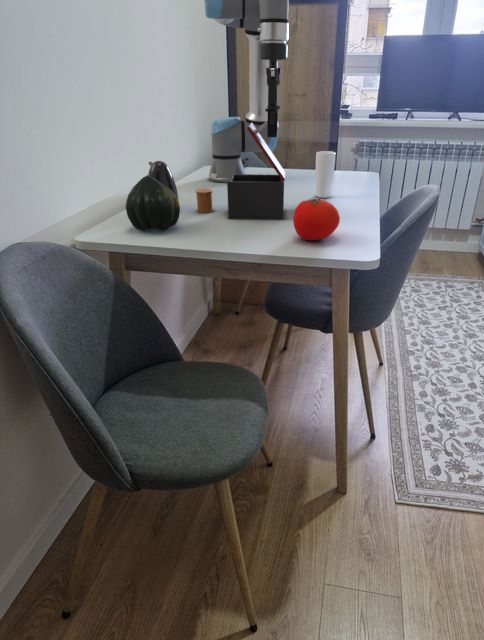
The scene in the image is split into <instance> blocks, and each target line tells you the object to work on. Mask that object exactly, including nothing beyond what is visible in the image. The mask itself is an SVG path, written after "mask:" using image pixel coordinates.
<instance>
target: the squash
mask: <svg viewBox="0 0 484 640" xmlns="http://www.w3.org/2000/svg"><path fill="white" fill-rule="evenodd" d="M125 213H126V217H127V218H128V220H129V222H130V224H131V225H132V226H133V227H134V228H135V229H137V230H139V231H142V232H143V231H144V232H145V231H148V230H152V229H158V230H159V231H162V232H166V231H169V229H171V228H173V227H174V226H175V225H177V223H178V221H179V219H180V213H181V205H180V201H179V197H178V198H177V196H176V195H175V193H174V192H173V191H172V190H171V189H169V188H168V187H167V186H165V185H164V184H162V183H161V182H159V181H158V180H156V179H154V178H153V177H150V176H149V175H148V174H146V176H143V177H142V178H140V180H138V181H137V183H136V184H135V185H133V187H132V188H131V189H130V191H129V193H128V195H127V198H126V203H125Z"/></svg>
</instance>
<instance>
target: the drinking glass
mask: <svg viewBox="0 0 484 640" xmlns="http://www.w3.org/2000/svg"><path fill="white" fill-rule="evenodd" d="M335 167H336V152H335V151H330V150H321V151H320V150H319V151H316V153H315V196H316V197H317V198H318V199H319V198H321V197H322V198H321V199H327V198H330V197H331V195H332V186H333V179H334V172H335Z"/></svg>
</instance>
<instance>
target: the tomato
mask: <svg viewBox="0 0 484 640" xmlns="http://www.w3.org/2000/svg"><path fill="white" fill-rule="evenodd" d="M293 211H294V212H293V216H292V220H293V221H292V222H293V227H294V230H295V232H296V234H297V235H298V237H299V238H300V239H302V240H305V241H318V240H319V241H320V240H322V239H326V238H328V237H329V236H331V235H332V234H333V233H334V232H335V231H336V229H337V228H339V227H338V226H339V225H340V223H341V217H340V213H339V210H338V209H337V207H335V206H334V204H333V203H331V202H329V201H327V200H325V199H323V198H322V197H321V198H319V197H318V198H313V199H308V200H302V201H301V202H300V203H299V204H298V205H297V206H296V207H295V208H294V210H293Z"/></svg>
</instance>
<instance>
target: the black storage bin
mask: <svg viewBox="0 0 484 640" xmlns="http://www.w3.org/2000/svg"><path fill="white" fill-rule="evenodd" d="M226 186H227V188H226V191H227V215H228V220H284V209H285V208H284V207H285V206H284V205H285V203H284V202H285V180H284V181H282V179H281V178H280V177H279V175H278V174H250V173H249V174H248V173H247V174H246V173H245V174H231V175H230V177H229V179H228V182H226Z"/></svg>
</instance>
